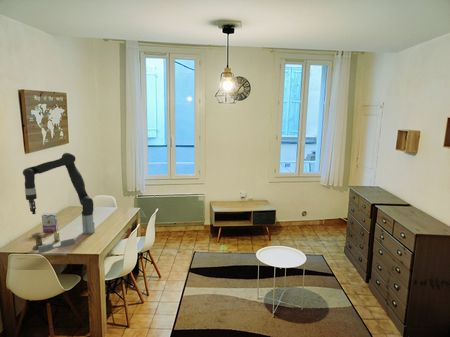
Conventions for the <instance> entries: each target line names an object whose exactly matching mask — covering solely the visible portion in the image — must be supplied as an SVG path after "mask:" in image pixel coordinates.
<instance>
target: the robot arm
mask: <svg viewBox="0 0 450 337" xmlns="http://www.w3.org/2000/svg"><path fill="white" fill-rule="evenodd" d="M75 162H76V156H75V155H74V154H72V153H70V152H64V153H63V154H62V155H61V158H57V159H54V160H52V161H46V162H43V163H40V164H38V165H35V166H30V167H26V168H24V169H23V171H22V175H23V176H24V192H25V193H24V194H25V200H26V201H28V206H29V210H30V212H31V214H32V215H36V214H37V213H36V212H37V211H36V209H37V207H36V201H35V200H36V199H37V198H38V196H37V189H36V183H35V179H36V176H35V175H38V174H39V175H41V174H43V173H47V172H49V171H51V170H54V169H57V168H60V167H64V166H65V168H66V170H67V172H68V176H69V178H70V181H71V184H72V185H73V188H74V189H75V192H76V193H77V196H78V200H79V203H80V205H81V207H82V211H81V222H82V223H81V224H82V234H84V235H89V234H94V233H95V232H96V231H95V230H96V229H95V222H94V200H93V199H92V198H91V197H90V196H89V195H88V192H87V191H86V185H85V180H84V178H83V176H82V174H81V172H80V170H79V169H78V168H77V166H76V164H75Z"/></svg>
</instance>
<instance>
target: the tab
mask: <svg viewBox="0 0 450 337" xmlns="http://www.w3.org/2000/svg"><path fill="white" fill-rule="evenodd" d="M53 241H54V243H58V242H59V243H60V241H61V240H60V231H59V230H58V231H56V232H53Z"/></svg>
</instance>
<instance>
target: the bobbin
mask: <svg viewBox="0 0 450 337" xmlns="http://www.w3.org/2000/svg"><path fill="white" fill-rule="evenodd" d="M44 236H46V232H43V231H42V232H41V231H40V232H35V233H32V234H31V238H33V239H35V245H34V246H33V247H32V249H33V250H35V251H36V250H37V251H39V250H38V246H42V245H46V243H43V238H44Z"/></svg>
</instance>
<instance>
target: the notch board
mask: <svg viewBox="0 0 450 337" xmlns="http://www.w3.org/2000/svg"><path fill="white" fill-rule="evenodd" d="M59 243H60V245H56V246H54V244H53V242H51V243H47V244H46V243H45V245H42V246H38V250H37V251H38V253H40V252H45V251H49V250H53V249H58V248H61V247H66V246H70V245H74V244H75V238H74V237H73V238H69V239H65V240H60V241H59Z"/></svg>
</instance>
